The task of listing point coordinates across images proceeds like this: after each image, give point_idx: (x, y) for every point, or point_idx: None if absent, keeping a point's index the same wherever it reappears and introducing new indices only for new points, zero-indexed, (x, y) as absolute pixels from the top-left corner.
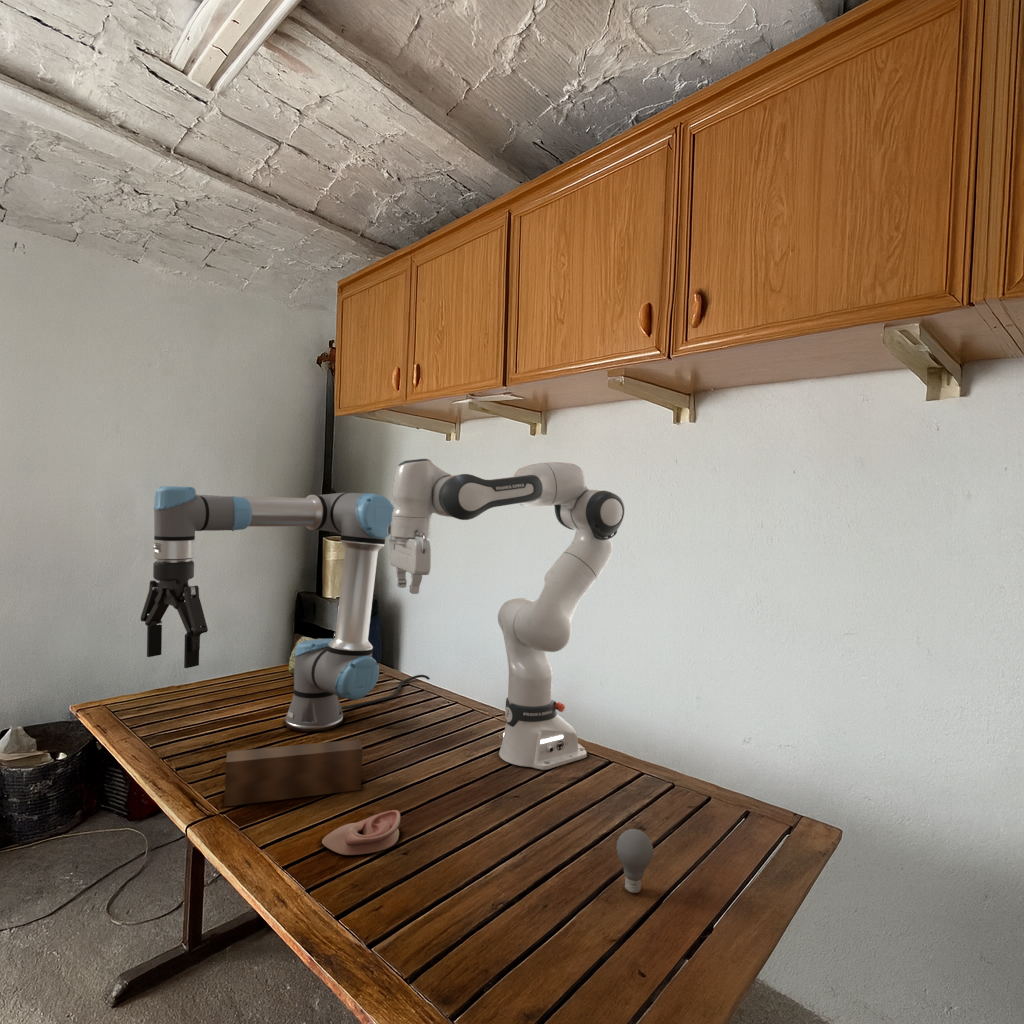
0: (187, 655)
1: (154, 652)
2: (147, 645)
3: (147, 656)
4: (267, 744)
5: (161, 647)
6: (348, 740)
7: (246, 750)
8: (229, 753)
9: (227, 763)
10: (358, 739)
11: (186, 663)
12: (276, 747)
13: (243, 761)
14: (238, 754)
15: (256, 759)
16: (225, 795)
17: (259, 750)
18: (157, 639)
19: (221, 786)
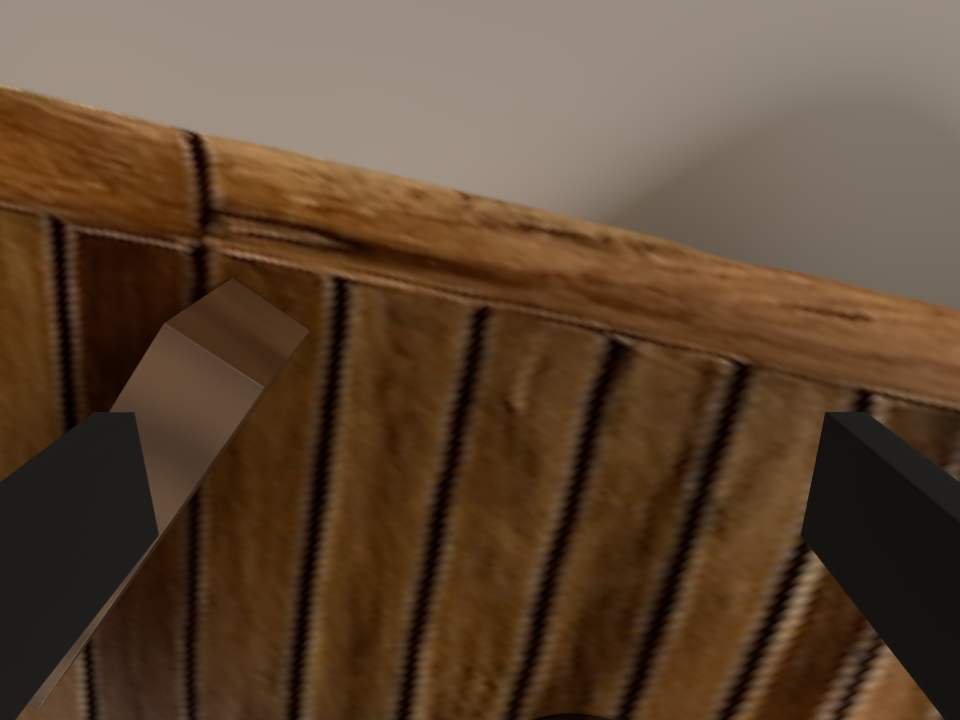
0: (1, 495)
1: (833, 489)
2: (946, 480)
3: (854, 413)
4: (546, 613)
5: (842, 587)
6: (50, 685)
7: (221, 437)
8: (240, 381)
9: (163, 325)
10: (35, 707)
11: (63, 437)
12: (167, 516)
13: (134, 371)
14: (205, 396)
15: (111, 408)
16: (217, 288)
17: (186, 464)
18: (924, 625)
19: (377, 356)
